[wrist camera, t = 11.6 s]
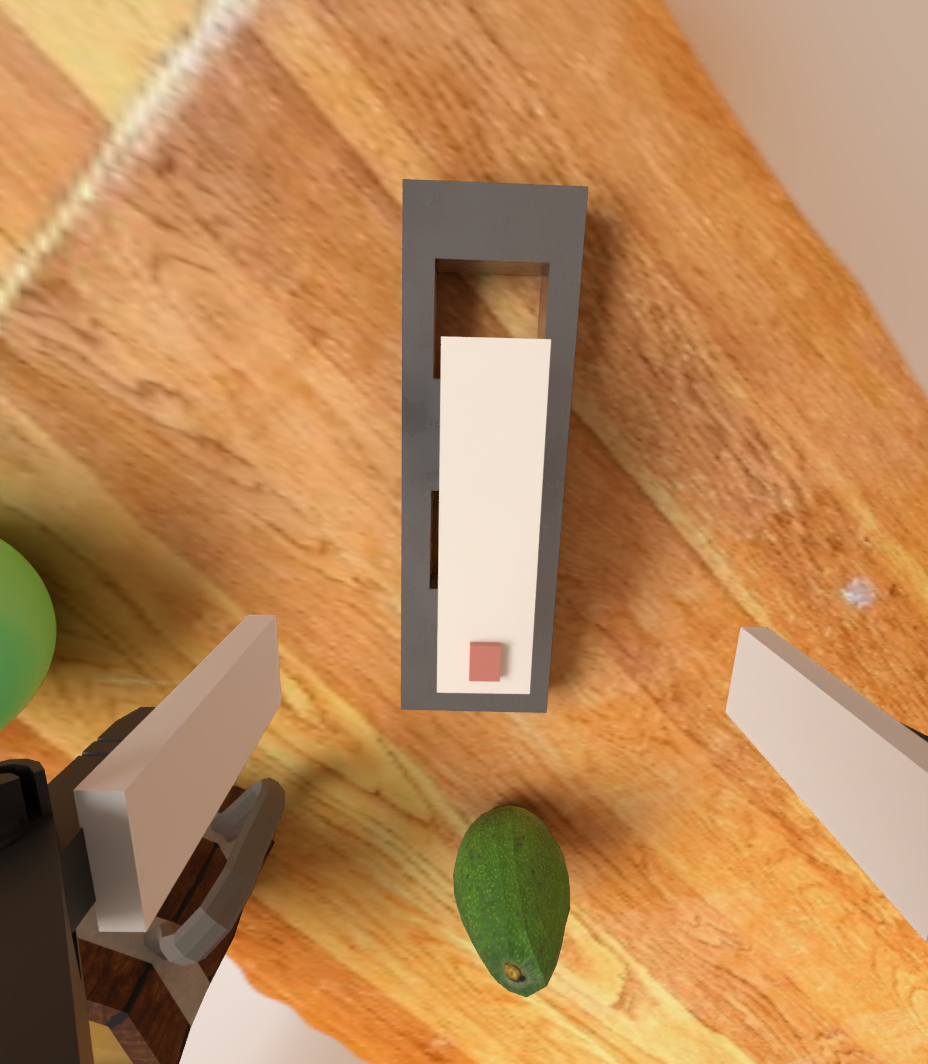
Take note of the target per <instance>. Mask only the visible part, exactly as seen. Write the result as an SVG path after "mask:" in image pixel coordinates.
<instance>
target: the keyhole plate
mask: <svg viewBox="0 0 928 1064" xmlns="http://www.w3.org/2000/svg"><path fill="white" fill-rule="evenodd" d="M587 197H588V187H583V186H558V185H534V184H509V183H485V182H461V181H436V180H412V179H403V236H402V560H401V710H446V711H490V712H534V713H546V712H547V700H548V687H549V675H550V662H551V650H552V637H553V624H554V612H555V599H556V587H557V574H558V562H559V549H560V536H561V524H562V511H563V499H564V486H565V474H566V461H567V448H568V436H569V423H570V411H571V398H572V386H573V373H574V360H575V348H576V335H577V323H578V310H579V298H580V285H581V272H582V260H583V247H584V235H585V222H586V210H587ZM437 272H439V273H465V274H492V275H518V276H541V291H540V307H539V323H538V339H551V349H550V366H549V383H548V399H547V416H546V432H545V449H544V465H543V482H542V499H541V515H540V532H539V548H538V565H537V581H536V598H535V614H534V631H533V648H532V664H531V681H530V694H493V693H437V634H438V574H432V533H433V491H439V467H440V383H441V379H435V366H436V310H437Z"/></svg>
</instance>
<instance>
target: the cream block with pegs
mask: <svg viewBox="0 0 928 1064" xmlns="http://www.w3.org/2000/svg"><path fill="white" fill-rule="evenodd" d="M550 349H551V339H520V338H482V337H444V336H441V383H440V467H439V550H438V634H437V693H493V694H530V681H531V664H532V648H533V631H534V614H535V598H536V581H537V565H538V548H539V532H540V515H541V499H542V482H543V465H544V449H545V432H546V416H547V399H548V383H549V366H550Z"/></svg>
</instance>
